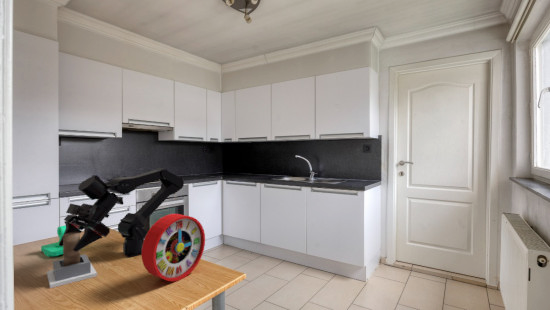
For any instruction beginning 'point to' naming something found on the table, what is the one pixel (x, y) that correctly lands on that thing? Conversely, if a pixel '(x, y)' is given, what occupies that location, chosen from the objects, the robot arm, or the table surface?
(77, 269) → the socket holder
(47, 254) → the camera mount
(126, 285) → the table surface
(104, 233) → the robot arm
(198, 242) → the toy clock
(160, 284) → the table surface
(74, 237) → the walnut peg
